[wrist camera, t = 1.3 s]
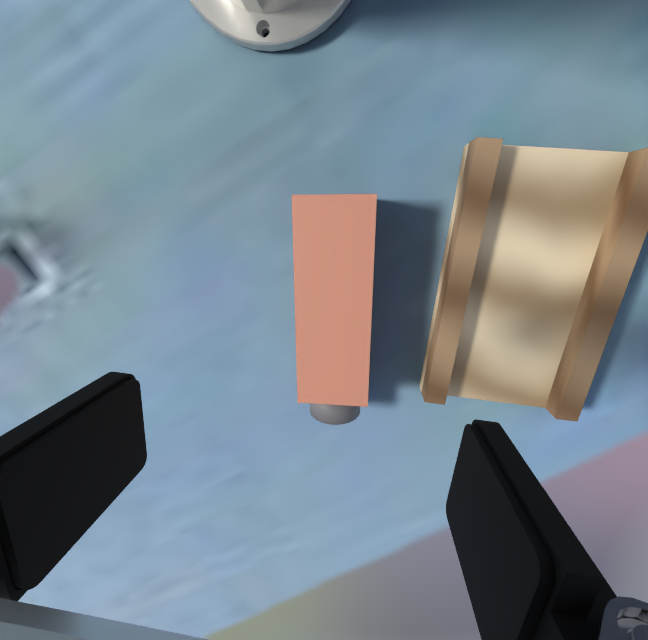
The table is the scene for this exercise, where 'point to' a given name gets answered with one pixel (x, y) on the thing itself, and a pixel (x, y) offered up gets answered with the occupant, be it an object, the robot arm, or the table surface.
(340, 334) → the salmon rectangular block
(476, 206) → the cradle
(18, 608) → the robot arm
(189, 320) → the table surface
